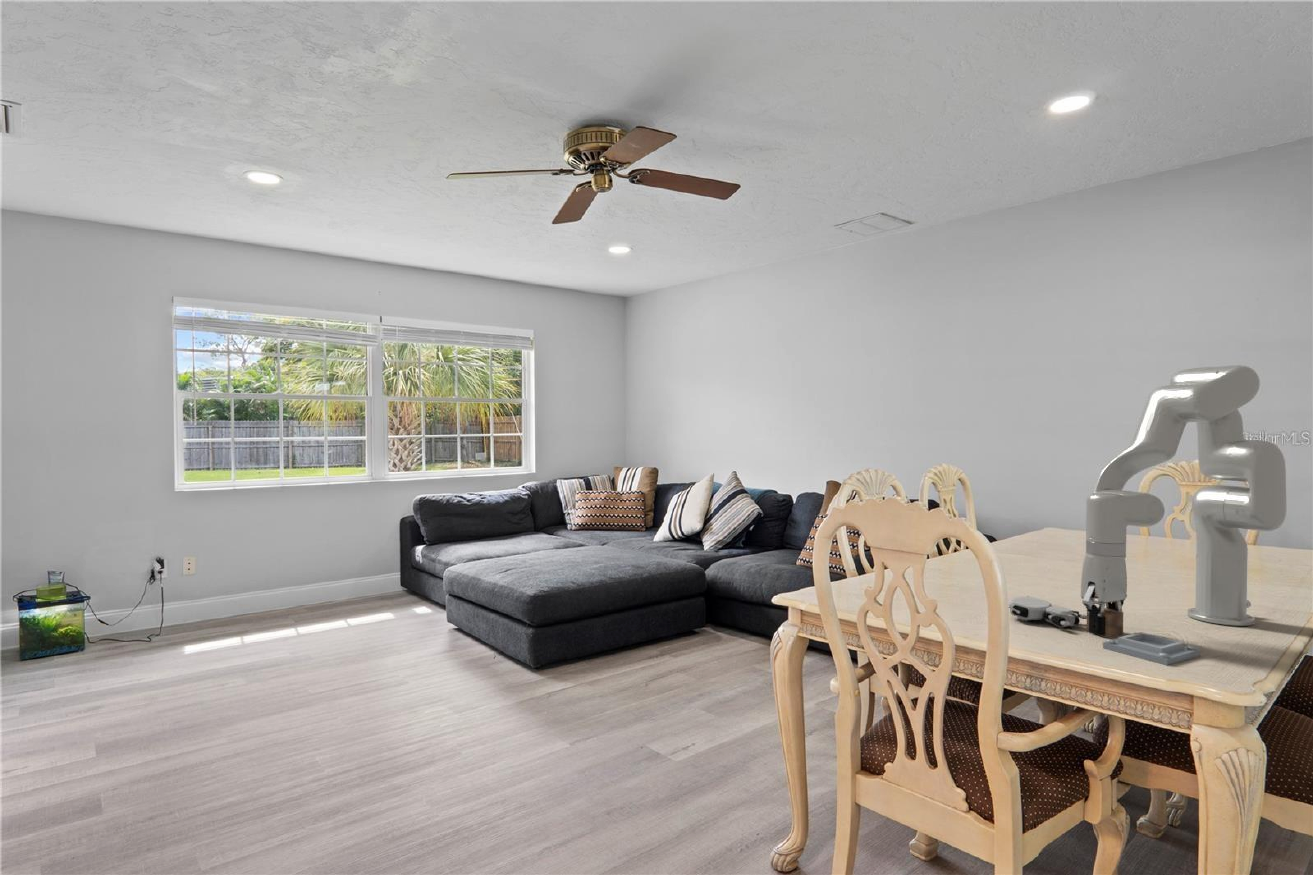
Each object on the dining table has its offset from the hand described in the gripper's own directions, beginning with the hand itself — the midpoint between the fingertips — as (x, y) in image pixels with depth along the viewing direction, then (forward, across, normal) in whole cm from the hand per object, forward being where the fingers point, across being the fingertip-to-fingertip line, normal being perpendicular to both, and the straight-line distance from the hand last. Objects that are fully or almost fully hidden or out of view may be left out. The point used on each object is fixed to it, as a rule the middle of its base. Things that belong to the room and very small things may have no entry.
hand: (1104, 631), depth 159 cm
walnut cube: (+1, 0, 0) cm, 1 cm away
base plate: (+1, +5, +12) cm, 13 cm away
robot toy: (+1, +3, -12) cm, 12 cm away
